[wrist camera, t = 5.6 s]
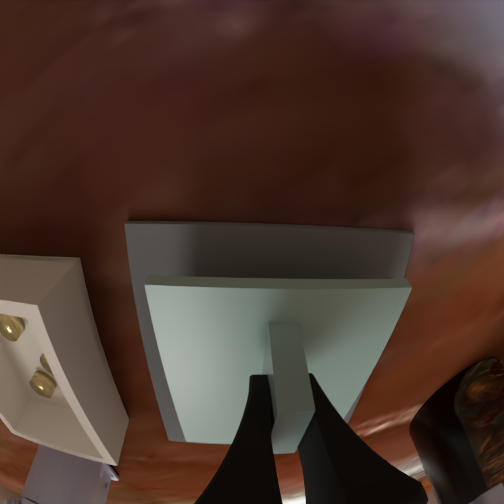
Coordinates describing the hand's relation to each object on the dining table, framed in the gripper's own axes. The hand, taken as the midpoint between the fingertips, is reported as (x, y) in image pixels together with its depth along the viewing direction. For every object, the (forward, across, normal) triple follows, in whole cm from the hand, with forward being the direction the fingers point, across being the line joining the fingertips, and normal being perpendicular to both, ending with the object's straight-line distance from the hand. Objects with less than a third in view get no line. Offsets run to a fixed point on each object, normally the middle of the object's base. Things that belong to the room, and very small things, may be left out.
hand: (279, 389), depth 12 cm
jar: (+5, -20, +12) cm, 24 cm away
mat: (+5, 0, +4) cm, 6 cm away
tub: (+5, +15, +4) cm, 16 cm away
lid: (+4, 0, +3) cm, 4 cm away
